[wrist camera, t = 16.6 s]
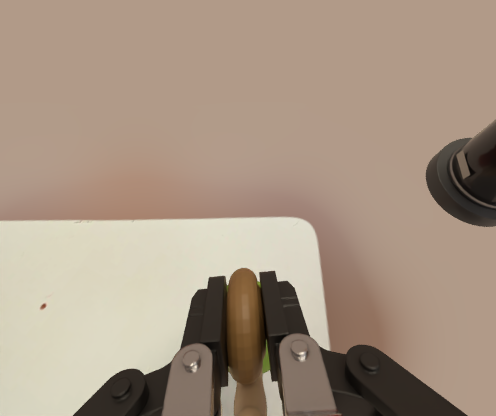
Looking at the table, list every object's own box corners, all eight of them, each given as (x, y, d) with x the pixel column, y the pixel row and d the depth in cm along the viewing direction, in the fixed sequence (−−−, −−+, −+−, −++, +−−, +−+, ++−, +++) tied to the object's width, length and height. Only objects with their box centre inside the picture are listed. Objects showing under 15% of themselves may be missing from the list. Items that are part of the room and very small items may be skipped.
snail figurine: (212, 388, 17) (138, 516, 6) (210, 288, 20) (153, 250, 9) (293, 380, 17) (364, 492, 6) (280, 282, 20) (314, 236, 9)
